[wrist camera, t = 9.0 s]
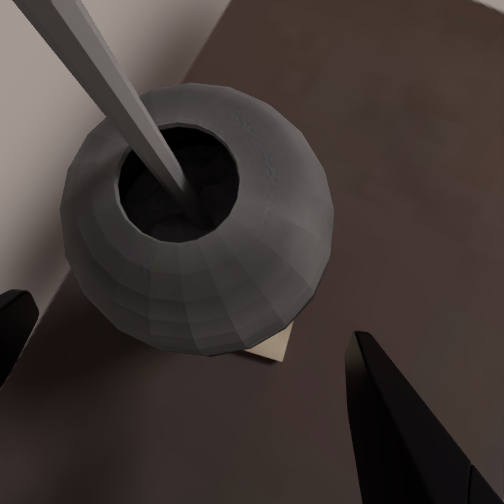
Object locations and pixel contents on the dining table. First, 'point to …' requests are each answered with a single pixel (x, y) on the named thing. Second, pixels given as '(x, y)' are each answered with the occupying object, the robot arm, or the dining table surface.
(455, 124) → the dining table surface
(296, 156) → the beverage cup
